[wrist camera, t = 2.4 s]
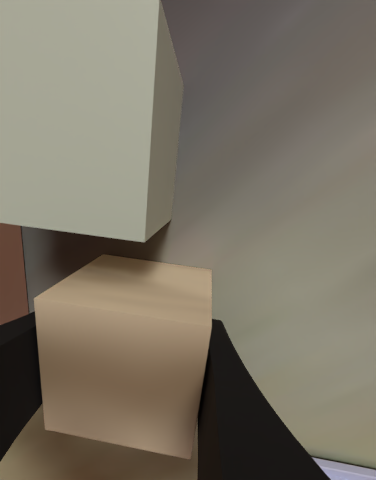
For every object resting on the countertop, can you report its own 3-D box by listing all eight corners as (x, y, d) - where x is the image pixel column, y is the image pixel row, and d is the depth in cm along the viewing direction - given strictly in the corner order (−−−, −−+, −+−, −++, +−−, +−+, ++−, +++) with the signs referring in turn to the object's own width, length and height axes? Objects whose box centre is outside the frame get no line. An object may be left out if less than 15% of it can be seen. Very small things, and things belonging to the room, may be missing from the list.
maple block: (197, 361, 11) (190, 459, 7) (102, 345, 11) (44, 429, 7) (211, 269, 9) (211, 327, 6) (103, 254, 10) (33, 298, 6)
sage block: (171, 219, 9) (144, 242, 5) (62, 204, 10) (-36, 218, 6) (183, 87, 8) (159, -4, 4) (57, 76, 8) (-73, -17, 5)
